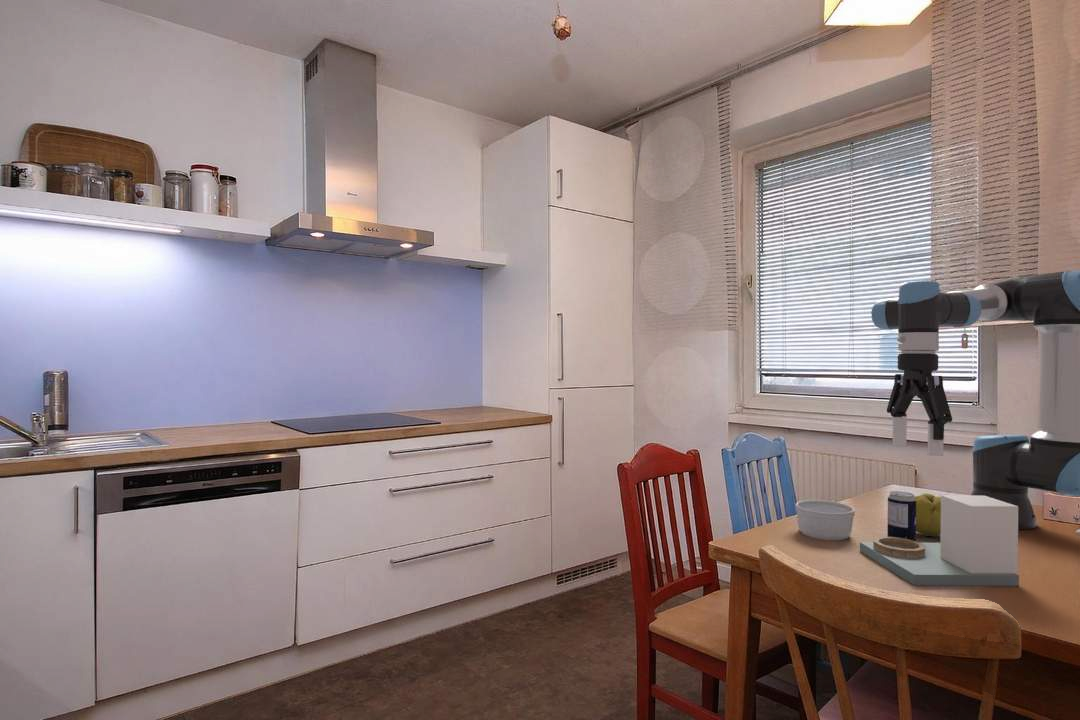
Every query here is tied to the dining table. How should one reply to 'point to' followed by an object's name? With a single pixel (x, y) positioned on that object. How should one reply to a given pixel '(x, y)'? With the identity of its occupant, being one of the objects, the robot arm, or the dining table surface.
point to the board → (935, 568)
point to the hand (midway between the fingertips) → (916, 450)
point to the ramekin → (825, 519)
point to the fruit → (928, 514)
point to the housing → (979, 534)
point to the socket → (915, 552)
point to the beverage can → (902, 515)
